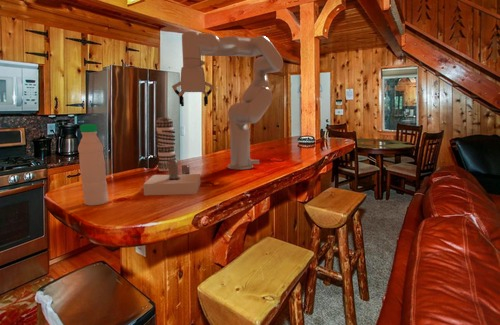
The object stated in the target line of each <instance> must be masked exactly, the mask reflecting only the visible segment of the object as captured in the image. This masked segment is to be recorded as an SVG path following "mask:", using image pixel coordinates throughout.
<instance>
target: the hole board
mask: <svg viewBox="0 0 500 325" xmlns="http://www.w3.org/2000/svg"><path fill="white" fill-rule="evenodd" d="M200 186H201V174H199V173H190V174H182V173H181V174H178V180H169V174H152V176H150V178H148V179H147V180H146V181H145V182H144V183H143V196H175V195H176V196H177V195H197V194H198V191H199V189H200Z"/></svg>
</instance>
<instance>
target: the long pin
mask: <svg viewBox="0 0 500 325" xmlns="http://www.w3.org/2000/svg"><path fill="white" fill-rule="evenodd" d="M168 166H169V171H168V175H169V180H178V175H179V169H178V168H179V167H178V159H177V158H176V159H171V160H168Z"/></svg>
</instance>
